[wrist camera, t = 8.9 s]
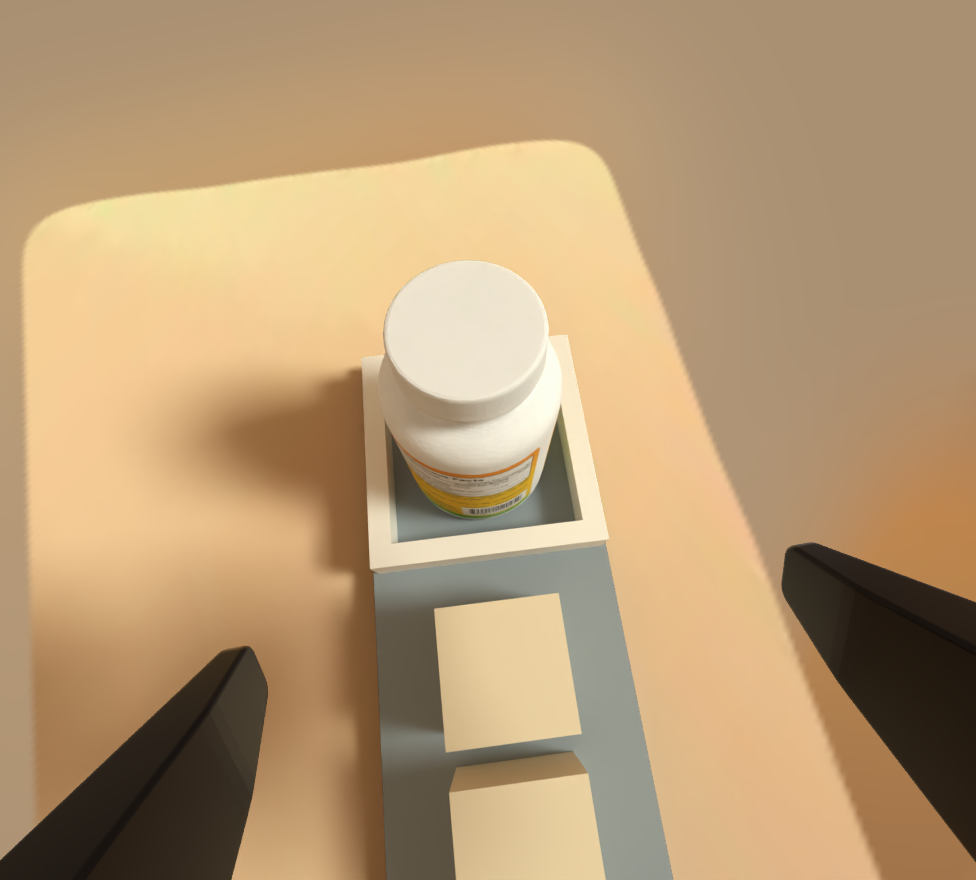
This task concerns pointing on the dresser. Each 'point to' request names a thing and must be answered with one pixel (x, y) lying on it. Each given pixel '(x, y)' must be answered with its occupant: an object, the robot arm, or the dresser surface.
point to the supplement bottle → (470, 386)
